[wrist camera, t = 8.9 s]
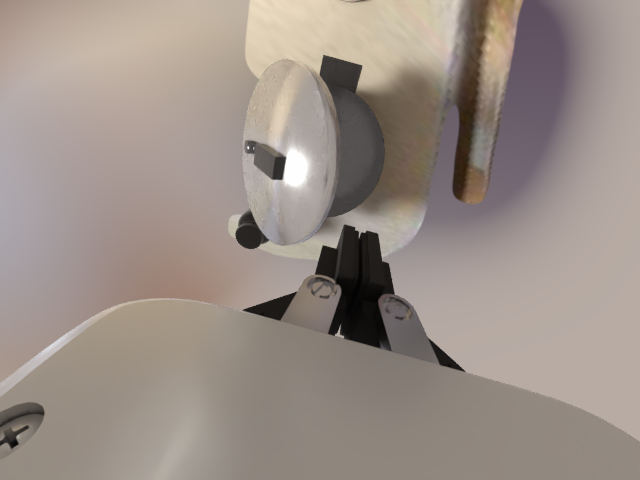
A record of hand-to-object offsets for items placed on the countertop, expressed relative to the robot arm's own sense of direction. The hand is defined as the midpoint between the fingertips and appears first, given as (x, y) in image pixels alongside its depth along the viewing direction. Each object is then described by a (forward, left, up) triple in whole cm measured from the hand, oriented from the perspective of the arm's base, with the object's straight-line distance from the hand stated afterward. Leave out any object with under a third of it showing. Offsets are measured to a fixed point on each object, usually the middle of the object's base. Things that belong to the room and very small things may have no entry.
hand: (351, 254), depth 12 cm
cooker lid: (+1, -8, -18) cm, 20 cm away
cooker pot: (+1, -5, -37) cm, 37 cm away
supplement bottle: (+17, -14, -37) cm, 43 cm away
